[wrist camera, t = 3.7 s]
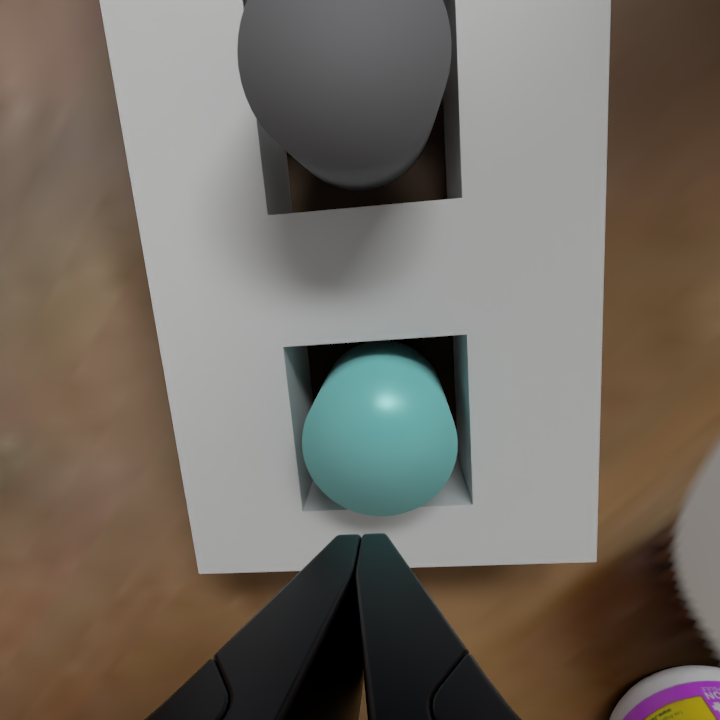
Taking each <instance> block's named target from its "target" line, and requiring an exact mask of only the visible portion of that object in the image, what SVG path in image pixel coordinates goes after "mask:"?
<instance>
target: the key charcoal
mask: <svg viewBox="0 0 720 720" xmlns="http://www.w3.org/2000/svg"><path fill="white" fill-rule="evenodd" d="M451 47H452V41H451V30H450V23H449V19H448V14H447V10H446V7H445V5H444V2H443V0H247V2H246V5H245V8H244V11H243V15H242V18H241V22H240V28H239V34H238V48H237V54H238V68H239V73H240V79H241V83H242V87H243V90H244V93H245V96H246V99H247V101H248V103H249V105H250V108H251V110H252V112H253V113H254V115H255V117H256V118H257V120H258V122H259V123H260V124H261V126H262V127H263V128H264V130H265V131H266V132H267V133H268V134H269V135H270V136H271V137H272V138H273V139H274V140H275V141H276V142H277V143H278V144H279V145H280V146H281V147H282V148H283V149H284V150H285V151H287V152H288V153H289V154H290V155H291V156H292V157H293V158H295V159H296V160H297V161H298V162H299V163H300V164H301V165H303V166H304V167H305V168H306V169H307V170H308V171H309V172H310V173H312V174H313V175H314V176H316V177H317V178H318V179H320V180H322V181H323V182H325V183H327V184H329V185H332V186H334V187H337V188H341V189H345V190H353V191H363V190H370V189H375V188H378V187H381V186H384V185H386V184H388V183H391V182H392V181H394V180H396V179H397V178H399V177H400V176H401V175H403V174H404V173H405V172H406V171H407V170H409V168H410V167H411V166H412V165H413V164H414V163H415V162H416V160H417V159H418V158H419V156H420V155H421V153H422V151H423V149H424V148H425V146H426V144H427V141H428V139H429V136H430V133H431V130H432V127H433V124H434V121H435V118H436V115H437V112H438V109H439V106H440V103H441V99H442V96H443V93H444V90H445V87H446V83H447V79H448V76H449V70H450V63H451Z"/></svg>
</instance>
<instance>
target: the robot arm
mask: <svg viewBox="0 0 720 720" xmlns="http://www.w3.org/2000/svg"><path fill="white" fill-rule="evenodd" d="M363 678H364V683H365V693H366V704H367V714H368V720H521V719H520V718H519V716H518V715H517V714H516V713H515V712H514V711H513V710H512V708H511V707H510V706H509V705H508V704H507V703H506V701H505V700H504V699H503V697H502V696H501V695H500V693H499V692H498V691H497V689H496V688H495V687H494V685H493V684H492V683H491V681H490V680H489V679H488V678H487V676H486V675H485V673H484V672H483V671H482V669H481V668H480V666H479V665H478V663H477V662H476V661H475V659H474V658H473V656H472V655H470V654H469V651H468V650H467V648H466V647H465V645H464V644H463V643H462V641H461V640H460V638H459V637H458V635H457V634H456V633H455V631H454V630H453V628H452V627H451V626H450V624H449V623H448V621H447V620H446V618H445V617H444V616H443V614H442V613H441V611H440V610H439V608H438V607H437V606H436V604H435V603H434V601H433V600H432V598H431V597H430V596H429V594H428V593H427V591H426V590H425V589H424V587H423V586H422V584H421V583H420V581H419V580H418V579H417V577H416V576H415V574H414V573H413V571H412V570H411V569H410V567H409V566H408V564H407V563H406V562H405V560H404V559H403V557H402V556H401V554H400V553H399V552H398V550H397V549H396V547H395V546H394V544H393V543H392V542H391V540H390V539H389V537H388V536H387V535H386V534H384V533H373V534H364V535H363V536H362V538H361V536H360V535H358V534H347V535H337V536H336V537H335V538H334V539H333V540H332V541H331V542H330V543H329V544H328V545H327V546H326V547H325V548H324V549H323V550H322V551H320V552H319V553H318V554H317V555H316V556H315V557H314V558H313V559H312V560H311V561H310V562H309V563H308V564H307V565H306V566H305V567H304V568H303V569H302V570H301V571H300V572H299V573H298V574H297V575H296V576H295V577H294V578H293V579H292V580H291V581H290V582H289V583H288V584H287V585H286V586H285V587H284V588H283V589H282V590H281V591H280V592H278V593H277V594H276V595H275V596H274V597H273V598H272V599H271V600H270V601H269V602H268V603H267V604H266V605H265V606H264V607H263V608H262V609H261V610H260V611H259V612H258V613H257V614H256V615H255V616H254V617H253V618H252V619H251V620H250V621H249V622H248V623H247V624H246V625H245V626H244V627H243V628H242V629H241V630H240V631H239V632H238V633H236V634H235V635H234V636H233V637H232V638H231V639H230V640H229V641H228V642H227V643H226V644H225V645H224V646H223V647H222V648H221V649H220V650H219V651H218V652H217V653H216V654H215V655H214V659H210V660H209V661H208V662H206V663H205V664H204V665H203V666H202V667H201V668H200V669H199V670H198V671H197V672H196V673H195V674H194V675H193V676H192V677H191V678H190V679H189V680H188V681H187V682H186V683H185V684H184V685H182V686H181V687H180V688H179V689H178V690H177V691H176V692H175V693H174V694H173V695H172V696H171V697H170V698H168V699H167V700H166V701H165V702H164V703H163V704H162V705H161V706H160V707H159V708H157V709H156V710H155V711H154V712H153V713H152V714H150V715H149V716H148V717H147V718H146V719H145V720H358V718H359V711H360V704H361V697H362V688H363Z"/></svg>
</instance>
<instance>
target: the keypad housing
mask: <svg viewBox="0 0 720 720" xmlns="http://www.w3.org/2000/svg"><path fill="white" fill-rule="evenodd" d="M99 1H100V7H101V12H102V18H103V24H104V30H105V35H106V41H107V47H108V53H109V58H110V64H111V70H112V76H113V81H114V87H115V93H116V99H117V105H118V110H119V116H120V122H121V128H122V133H123V139H124V145H125V151H126V156H127V162H128V168H129V174H130V180H131V185H132V191H133V197H134V203H135V208H136V214H137V220H138V226H139V231H140V237H141V243H142V249H143V255H144V260H145V266H146V272H147V278H148V283H149V289H150V295H151V301H152V306H153V312H154V318H155V324H156V329H157V335H158V341H159V347H160V353H161V358H162V364H163V370H164V376H165V381H166V387H167V393H168V399H169V404H170V410H171V416H172V422H173V428H174V433H175V439H176V445H177V451H178V456H179V462H180V468H181V474H182V479H183V485H184V491H185V497H186V502H187V508H188V514H189V520H190V526H191V531H192V537H193V543H194V549H195V554H196V560H197V566H198V572H199V574H217V573H250V572H283V571H301V570H302V569H303V568H304V567H305V566H306V565H307V564H308V563H309V562H310V561H311V560H312V559H313V558H314V557H315V556H316V555H317V554H318V553H319V552H320V551H322V550H323V549H324V548H325V547H326V546H327V545H328V544H329V543H330V542H331V541H332V540H333V539H334V538H335V537H336V536H337V535H347V534H358V535H360V536H361V538H362V536H363V535H364V534H373V533H384V534H386V535H387V536H388V537H389V539H390V540H391V542H392V543H393V544H394V546H395V547H396V549H397V550H398V552H399V553H400V554H401V556H402V557H403V559H404V560H405V562H406V563H407V564H408V566H409V567H410V568H415V567H449V566H482V565H515V564H548V563H581V562H597V524H598V485H599V446H600V407H601V368H602V329H603V290H604V251H605V212H606V173H607V134H608V95H609V56H610V17H611V0H443V2H444V5H445V7H446V10H447V14H448V19H449V23H450V30H451V41H452V47H451V63H450V70H449V76H448V79H447V83H446V87H445V90H444V93H443V110H444V134H445V159H446V183H447V199H443V200H432V201H421V202H410V203H399V204H388V205H377V206H366V207H355V208H344V209H332V210H321V211H310V212H299V213H293V208H292V199H291V189H290V180H289V170H288V161H287V152H286V151H285V150H284V149H283V148H282V147H281V146H280V145H279V144H278V143H277V142H276V141H275V140H274V139H273V138H272V137H271V136H270V135H269V134H268V133H267V132H266V131H265V130H264V128H263V127H262V126H261V124H260V123H259V122H258V120H257V118H256V117H255V115H254V113H253V112H252V110H251V108H250V105H249V103H248V101H247V99H246V96H245V93H244V90H243V87H242V83H241V79H240V73H239V68H238V54H237V48H238V34H239V28H240V22H241V18H242V15H243V11H244V8H245V5H246V2H247V0H99ZM438 336H453V353H454V377H455V401H456V425H457V439H458V455H457V457H456V462H455V465H454V468H453V471H452V473H451V475H450V477H449V479H448V481H447V482H446V484H445V485H444V487H443V488H442V489H441V490H440V491H439V492H438V493H437V494H436V495H435V496H434V497H433V498H432V499H431V500H429V501H428V502H426V503H425V504H423V505H422V506H420V507H418V508H416V509H414V510H411V511H409V512H406V513H402V514H398V515H392V516H371V515H364V514H360V513H357V512H354V511H351V510H349V509H346V508H344V507H342V506H341V505H339V504H337V503H336V502H334V501H333V500H331V499H330V498H329V497H328V496H327V495H326V494H324V493H323V492H322V491H321V489H320V488H319V487H318V486H317V485H316V483H315V482H314V480H313V479H312V477H311V475H310V473H309V471H308V469H307V467H306V463H305V460H304V456H303V451H302V434H303V428H304V424H305V420H306V418H307V415H308V413H309V411H310V409H311V407H312V405H313V395H312V386H311V376H310V367H309V358H308V348H307V345H321V344H335V343H350V342H365V341H379V340H394V339H409V338H424V337H438Z"/></svg>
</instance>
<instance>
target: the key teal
mask: <svg viewBox="0 0 720 720" xmlns="http://www.w3.org/2000/svg"><path fill="white" fill-rule="evenodd" d="M302 451H303V456H304V460H305V463H306V467H307V469H308V471H309V473H310V475H311V477H312V479H313V480H314V482H315V483H316V485H317V486H318V487H319V488H320V489H321V491H322V492H323V493H324V494H326V495H327V496H328V497H329V498H330V499H331V500H333V501H334V502H336V503H337V504H339V505H341V506H342V507H344V508H346V509H349V510H351V511H354V512H357V513H360V514H364V515H371V516H392V515H398V514H402V513H406V512H409V511H411V510H414V509H416V508H418V507H420V506H422V505H423V504H425V503H426V502H428V501H429V500H431V499H432V498H433V497H434V496H435V495H436V494H437V493H438V492H439V491H440V490H441V489H442V488H443V487H444V485H445V484H446V482H447V481H448V479H449V477H450V475H451V473H452V471H453V468H454V465H455V462H456V457H457V452H458V439H457V431H456V428H455V424H454V421H453V418H452V415H451V412H450V409H449V406H448V403H447V400H446V397H445V394H444V391H443V388H442V385H441V383H440V380H439V377H438V375H437V373H436V371H435V369H434V368H433V366H432V365H431V364H430V362H429V361H428V360H427V359H426V358H425V357H424V356H423V355H422V354H420V353H419V352H418V351H416V350H415V349H413V348H411V347H409V346H407V345H404V344H402V343H398V342H394V341H386V340H380V341H371V342H367V343H363V344H360V345H358V346H356V347H354V348H352V349H350V350H348V351H347V352H346V353H345V354H343V355H342V356H341V357H340V358H339V359H338V360H337V361H336V362H335V364H334V365H333V366H332V368H331V370H330V372H329V373H328V375H327V377H326V379H325V381H324V383H323V385H322V387H321V389H320V391H319V393H318V395H317V397H316V399H315V401H314V403H313V405H312V407H311V409H310V411H309V413H308V415H307V418H306V420H305V424H304V428H303V434H302Z"/></svg>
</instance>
